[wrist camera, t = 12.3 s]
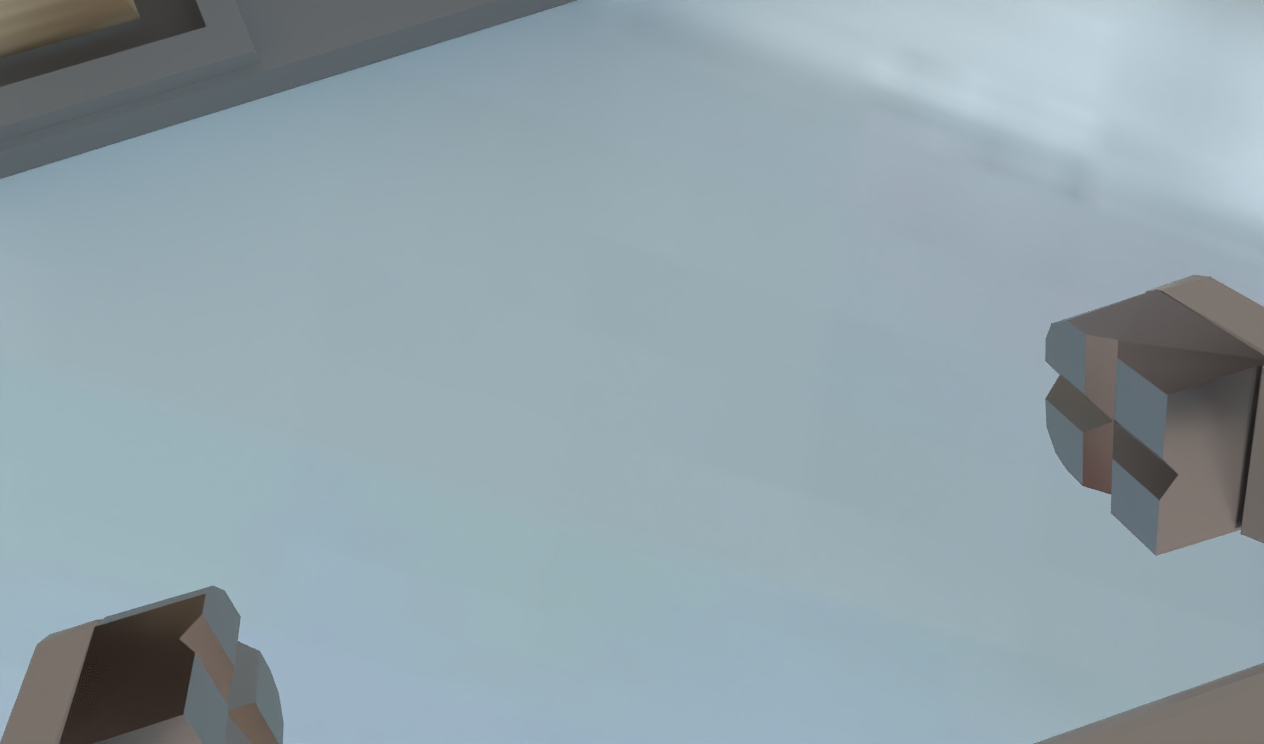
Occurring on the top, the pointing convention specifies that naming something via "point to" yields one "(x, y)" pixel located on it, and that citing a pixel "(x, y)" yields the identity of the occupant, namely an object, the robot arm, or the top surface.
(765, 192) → the top surface
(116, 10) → the block
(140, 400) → the top surface
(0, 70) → the grey block holder
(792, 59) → the top surface
